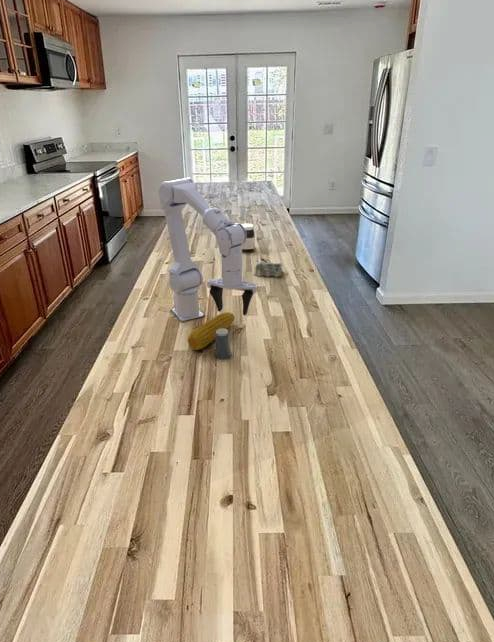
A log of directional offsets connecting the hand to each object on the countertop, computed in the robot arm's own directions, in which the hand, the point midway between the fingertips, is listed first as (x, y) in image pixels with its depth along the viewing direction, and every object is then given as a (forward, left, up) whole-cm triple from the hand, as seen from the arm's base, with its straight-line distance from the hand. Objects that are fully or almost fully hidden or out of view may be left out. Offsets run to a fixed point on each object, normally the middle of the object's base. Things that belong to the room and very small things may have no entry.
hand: (232, 311), depth 126 cm
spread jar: (-72, +41, -10) cm, 83 cm away
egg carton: (-40, +36, -10) cm, 55 cm away
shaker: (+6, -6, -9) cm, 13 cm away
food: (-4, -5, -10) cm, 11 cm away
